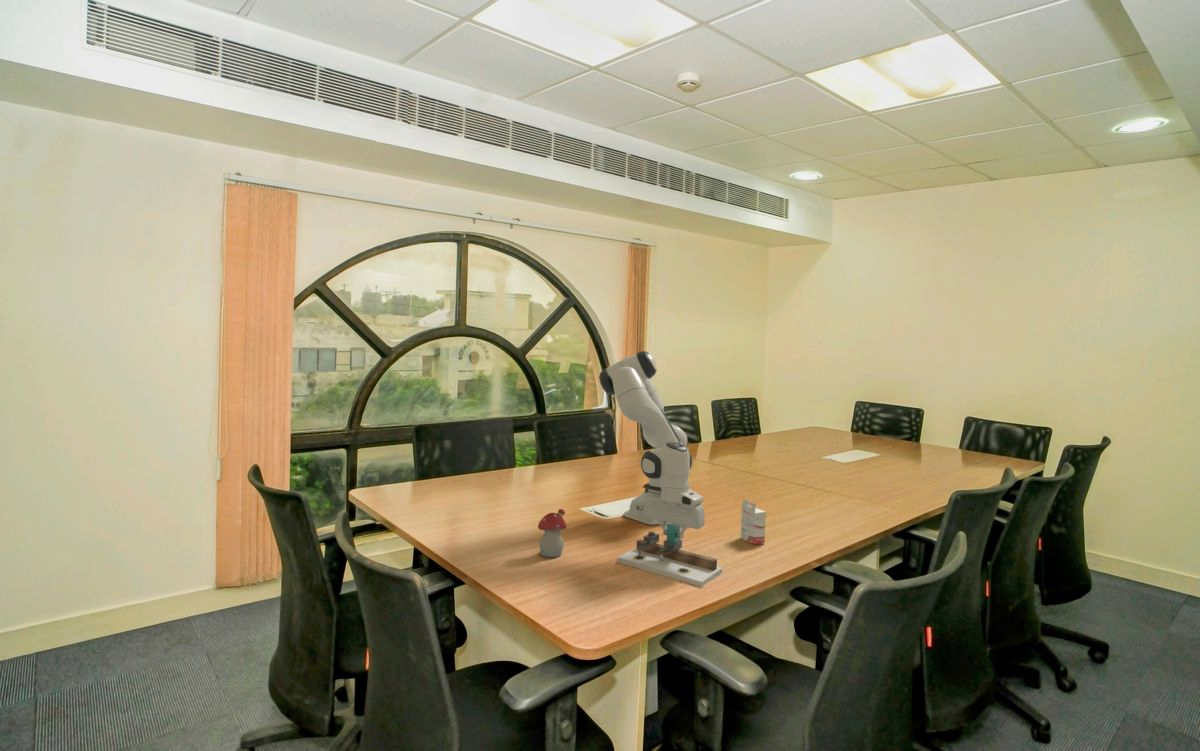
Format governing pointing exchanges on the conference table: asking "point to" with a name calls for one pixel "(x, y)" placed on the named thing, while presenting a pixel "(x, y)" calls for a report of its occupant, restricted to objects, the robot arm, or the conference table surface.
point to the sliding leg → (671, 540)
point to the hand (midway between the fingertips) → (673, 536)
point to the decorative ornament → (552, 534)
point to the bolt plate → (669, 567)
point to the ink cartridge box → (752, 523)
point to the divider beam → (674, 553)
